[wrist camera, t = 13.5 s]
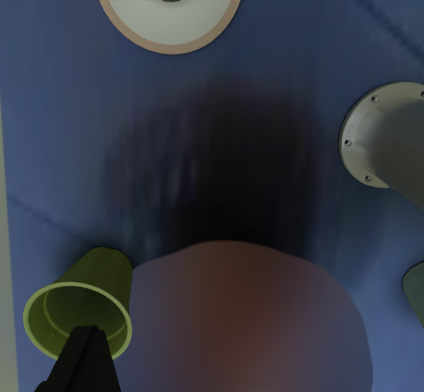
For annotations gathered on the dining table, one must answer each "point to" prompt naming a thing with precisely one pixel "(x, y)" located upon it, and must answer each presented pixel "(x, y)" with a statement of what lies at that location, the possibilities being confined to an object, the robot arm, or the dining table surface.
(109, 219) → the dining table surface
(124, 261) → the plant pot
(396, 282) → the dining table surface
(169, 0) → the salt shaker
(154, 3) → the dish
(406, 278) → the disposable coffee cup
